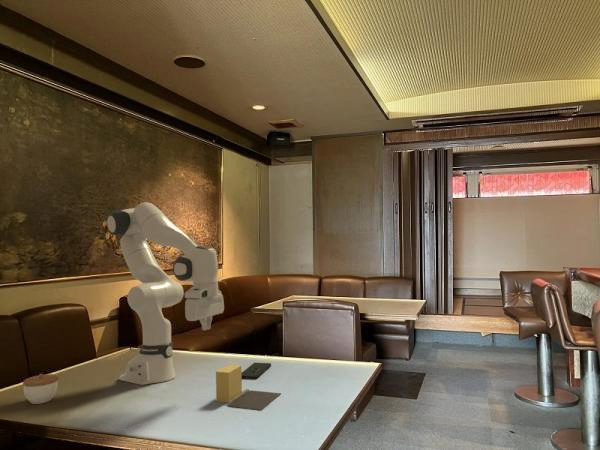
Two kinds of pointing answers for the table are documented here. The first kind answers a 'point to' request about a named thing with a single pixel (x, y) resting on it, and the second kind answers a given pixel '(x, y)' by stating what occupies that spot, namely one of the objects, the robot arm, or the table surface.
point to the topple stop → (252, 399)
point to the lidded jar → (40, 388)
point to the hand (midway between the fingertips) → (206, 329)
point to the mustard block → (228, 383)
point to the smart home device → (255, 370)
